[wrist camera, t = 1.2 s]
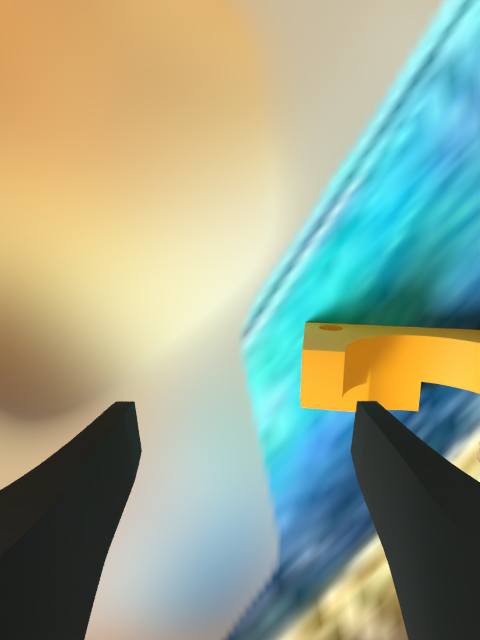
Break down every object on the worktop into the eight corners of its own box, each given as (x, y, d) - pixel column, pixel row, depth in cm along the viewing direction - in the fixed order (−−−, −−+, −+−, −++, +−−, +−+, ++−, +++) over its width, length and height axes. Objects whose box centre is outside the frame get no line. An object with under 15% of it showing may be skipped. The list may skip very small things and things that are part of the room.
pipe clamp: (302, 386, 25) (299, 434, 19) (305, 321, 24) (302, 349, 18) (506, 401, 23) (577, 461, 17) (517, 330, 22) (596, 366, 16)
